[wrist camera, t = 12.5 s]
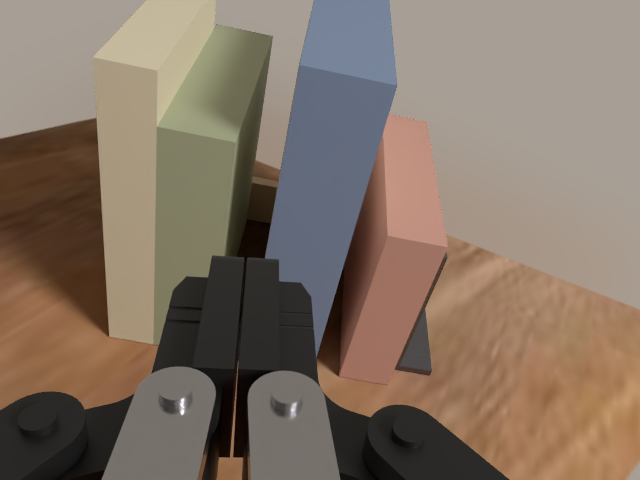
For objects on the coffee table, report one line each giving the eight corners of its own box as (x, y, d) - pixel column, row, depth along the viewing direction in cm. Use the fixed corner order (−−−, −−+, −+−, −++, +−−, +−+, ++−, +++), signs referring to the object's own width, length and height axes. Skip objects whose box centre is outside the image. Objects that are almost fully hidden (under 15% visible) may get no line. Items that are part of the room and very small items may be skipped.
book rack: (109, 336, 40) (92, 57, 27) (172, 197, 52) (180, -36, 40) (408, 388, 41) (523, 146, 29) (398, 241, 54) (475, 29, 41)
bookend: (386, 368, 42) (434, 256, 35) (383, 259, 52) (420, 154, 45) (429, 375, 42) (484, 265, 36) (418, 266, 52) (460, 162, 45)
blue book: (245, 367, 40) (298, 64, 26) (274, 224, 52) (320, -32, 39) (310, 378, 40) (398, 85, 26) (324, 234, 53) (388, -17, 39)
